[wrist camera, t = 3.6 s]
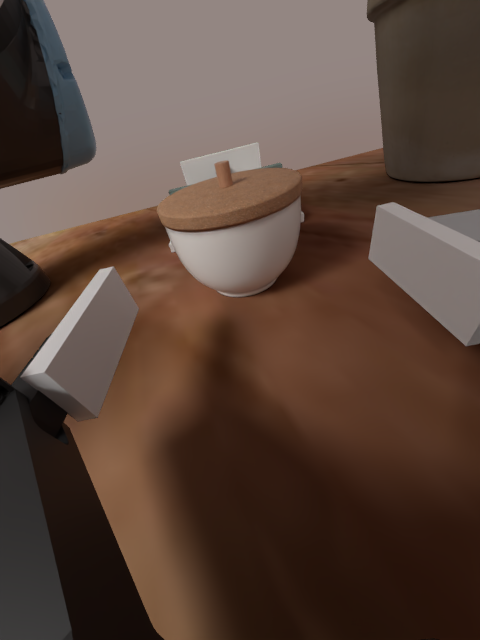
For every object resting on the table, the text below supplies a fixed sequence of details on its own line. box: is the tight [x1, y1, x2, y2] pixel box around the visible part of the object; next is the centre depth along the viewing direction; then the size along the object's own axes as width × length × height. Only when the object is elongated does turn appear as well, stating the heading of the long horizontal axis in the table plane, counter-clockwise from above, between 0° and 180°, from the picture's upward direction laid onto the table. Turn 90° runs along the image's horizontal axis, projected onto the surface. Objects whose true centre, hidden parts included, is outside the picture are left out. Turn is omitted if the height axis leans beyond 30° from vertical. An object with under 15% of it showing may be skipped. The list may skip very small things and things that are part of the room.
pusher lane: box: [169, 142, 304, 252], centre depth 37 cm, size 22×17×7 cm
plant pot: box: [367, 0, 480, 182], centre depth 28 cm, size 25×25×22 cm
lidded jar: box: [157, 160, 302, 297], centre depth 20 cm, size 11×11×9 cm
